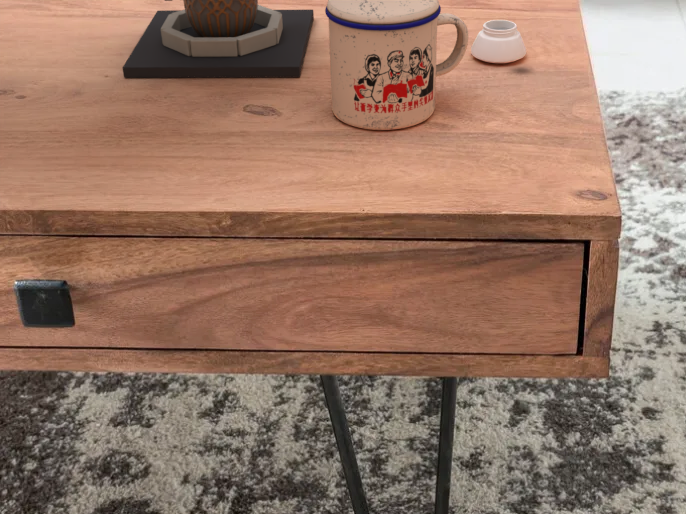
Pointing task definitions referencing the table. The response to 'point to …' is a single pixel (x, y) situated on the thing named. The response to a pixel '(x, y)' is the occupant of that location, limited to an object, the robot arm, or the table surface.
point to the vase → (221, 17)
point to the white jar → (498, 42)
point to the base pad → (222, 48)
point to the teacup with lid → (387, 60)
